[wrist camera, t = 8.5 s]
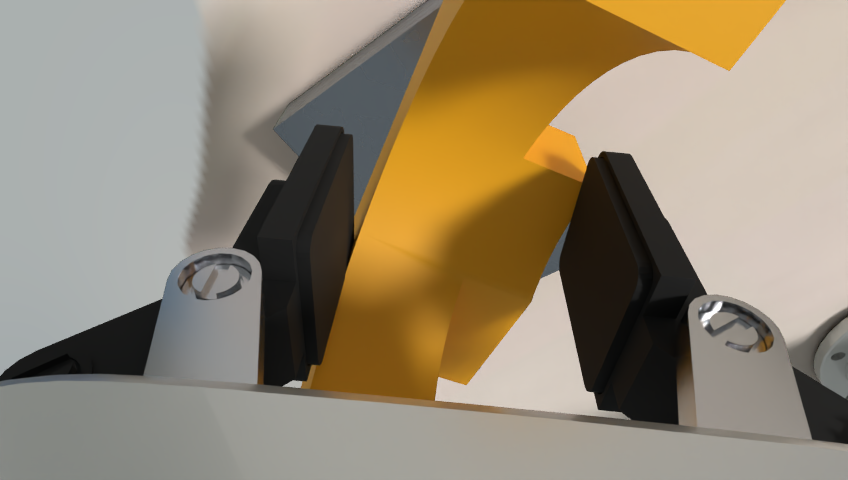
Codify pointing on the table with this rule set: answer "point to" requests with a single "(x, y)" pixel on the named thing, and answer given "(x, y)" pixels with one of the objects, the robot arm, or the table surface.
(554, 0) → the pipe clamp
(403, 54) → the slate stand
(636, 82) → the table surface
